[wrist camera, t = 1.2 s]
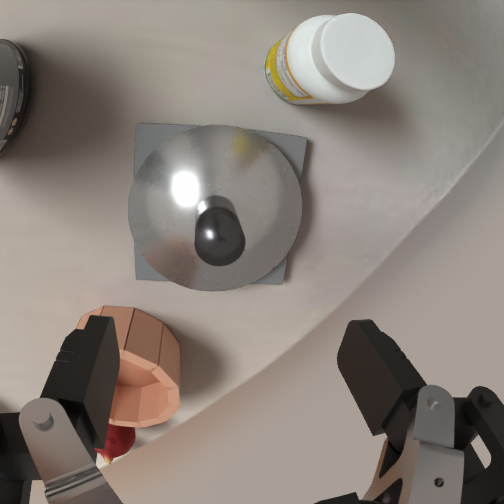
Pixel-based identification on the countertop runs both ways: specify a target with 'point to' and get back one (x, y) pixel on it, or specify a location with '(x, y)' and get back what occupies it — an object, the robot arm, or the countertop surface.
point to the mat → (159, 133)
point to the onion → (117, 442)
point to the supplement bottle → (330, 60)
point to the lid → (215, 208)
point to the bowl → (143, 368)
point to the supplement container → (13, 92)
